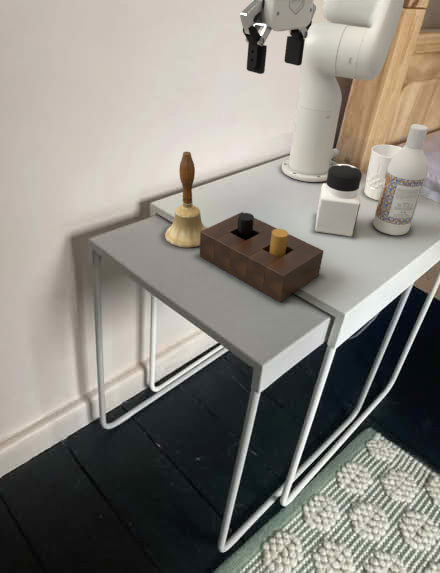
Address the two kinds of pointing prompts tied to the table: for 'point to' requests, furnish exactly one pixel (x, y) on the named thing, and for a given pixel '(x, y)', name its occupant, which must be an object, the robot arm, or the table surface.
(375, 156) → the white cup
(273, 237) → the brass pin
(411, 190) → the bath foam
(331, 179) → the medicine bottle
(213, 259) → the pin block
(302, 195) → the table surface
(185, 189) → the hand bell
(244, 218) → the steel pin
